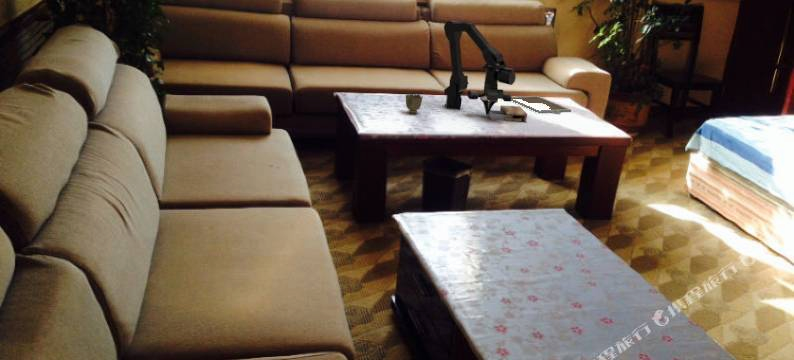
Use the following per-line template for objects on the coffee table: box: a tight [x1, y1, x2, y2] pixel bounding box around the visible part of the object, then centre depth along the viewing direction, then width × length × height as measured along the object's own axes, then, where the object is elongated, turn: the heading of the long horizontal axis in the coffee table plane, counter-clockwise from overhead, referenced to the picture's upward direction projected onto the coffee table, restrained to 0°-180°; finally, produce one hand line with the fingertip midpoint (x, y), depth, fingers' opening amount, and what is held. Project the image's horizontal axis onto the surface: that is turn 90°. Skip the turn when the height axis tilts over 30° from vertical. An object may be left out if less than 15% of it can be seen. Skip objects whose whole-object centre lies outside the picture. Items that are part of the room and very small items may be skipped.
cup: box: [405, 93, 424, 115], centre depth 285 cm, size 8×7×8 cm
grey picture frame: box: [510, 95, 572, 115], centre depth 316 cm, size 19×2×30 cm
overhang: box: [499, 105, 528, 123], centre depth 291 cm, size 9×13×4 cm
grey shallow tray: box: [487, 109, 514, 120], centre depth 291 cm, size 10×8×2 cm
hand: (486, 114), depth 290 cm, fingers closed
